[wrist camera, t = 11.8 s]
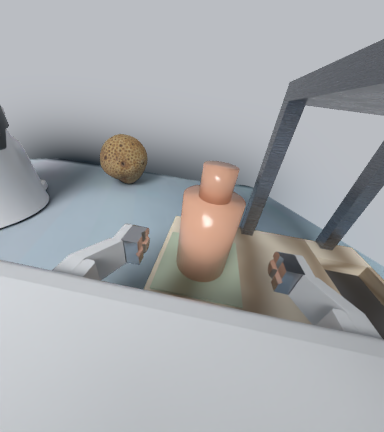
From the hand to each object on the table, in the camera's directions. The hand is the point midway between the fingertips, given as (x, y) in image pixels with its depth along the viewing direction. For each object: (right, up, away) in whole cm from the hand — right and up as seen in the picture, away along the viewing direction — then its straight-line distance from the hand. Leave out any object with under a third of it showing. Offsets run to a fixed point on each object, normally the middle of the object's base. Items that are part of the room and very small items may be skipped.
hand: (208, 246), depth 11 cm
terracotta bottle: (0, -3, +7) cm, 7 cm away
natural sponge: (-16, +9, +26) cm, 32 cm away
